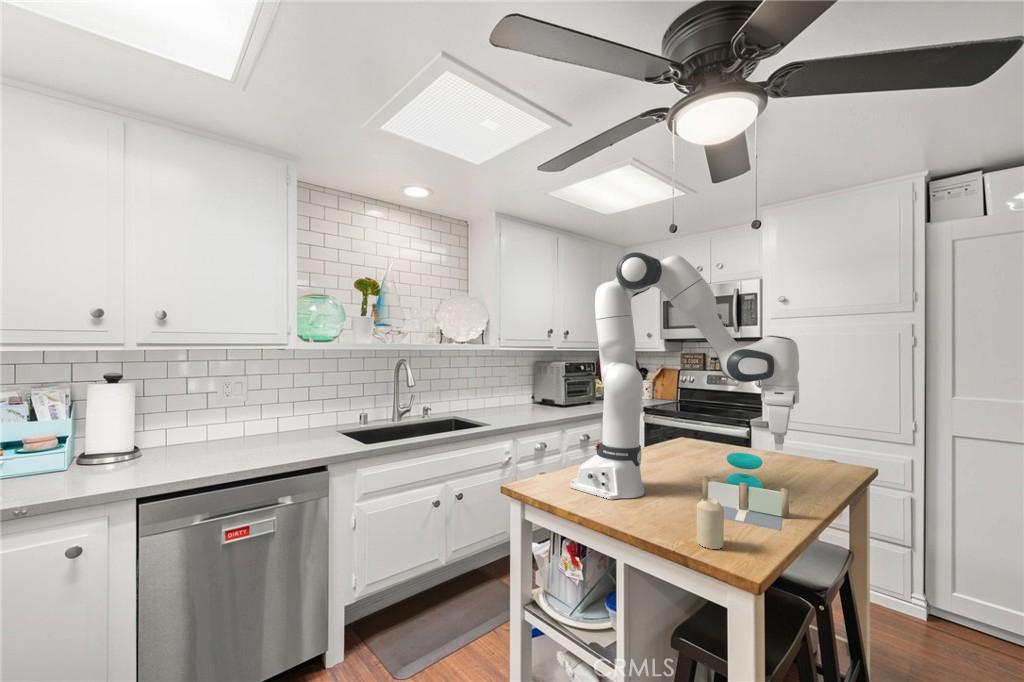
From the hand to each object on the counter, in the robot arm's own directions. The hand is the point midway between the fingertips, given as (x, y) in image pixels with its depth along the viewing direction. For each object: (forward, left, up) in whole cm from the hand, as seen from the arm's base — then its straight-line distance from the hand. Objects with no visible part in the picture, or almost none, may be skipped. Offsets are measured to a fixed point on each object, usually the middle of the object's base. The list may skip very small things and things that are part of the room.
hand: (779, 446), depth 120 cm
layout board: (-9, -7, -17) cm, 21 cm away
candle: (-12, -33, -18) cm, 39 cm away
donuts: (-10, +16, -18) cm, 26 cm away
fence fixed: (-13, -6, -17) cm, 22 cm away
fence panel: (-2, -6, -17) cm, 18 cm away
